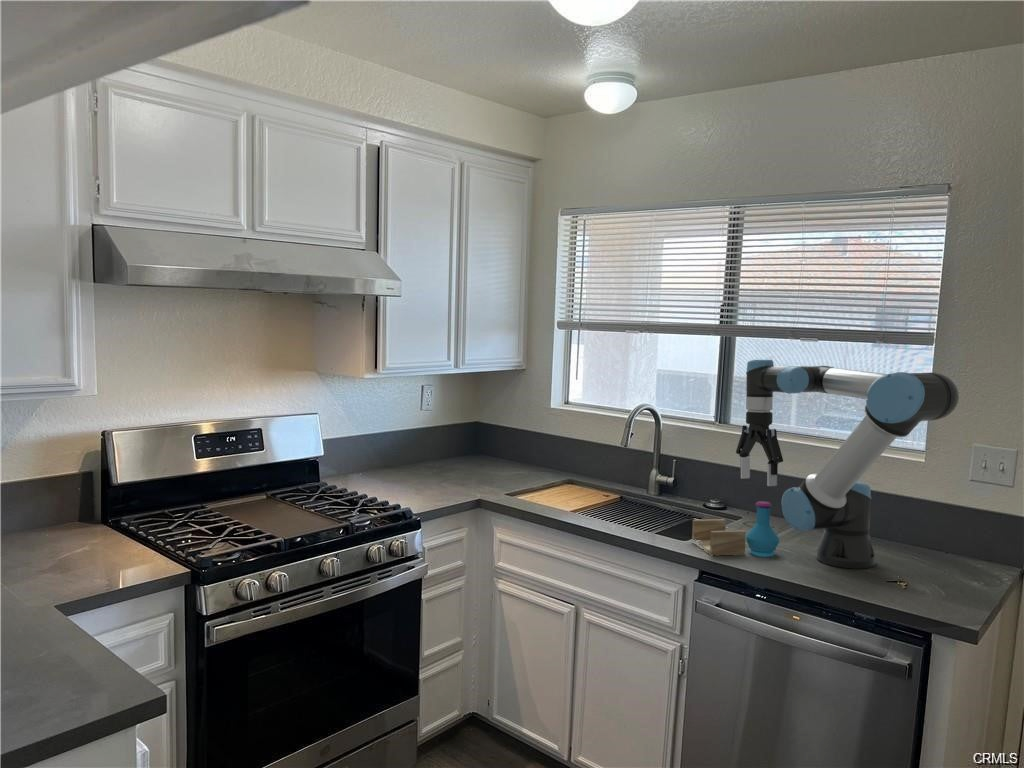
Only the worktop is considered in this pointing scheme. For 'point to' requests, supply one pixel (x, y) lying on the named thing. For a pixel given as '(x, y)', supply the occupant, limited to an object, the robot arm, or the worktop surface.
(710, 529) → the holder
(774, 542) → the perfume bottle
